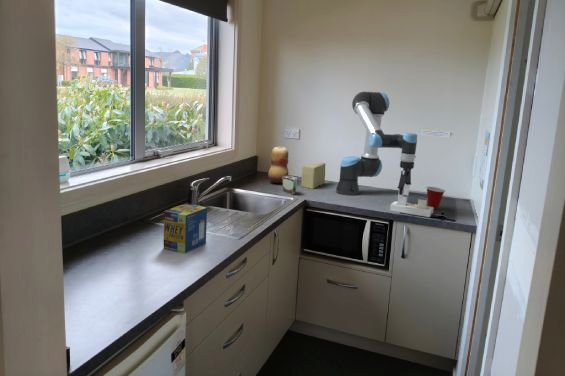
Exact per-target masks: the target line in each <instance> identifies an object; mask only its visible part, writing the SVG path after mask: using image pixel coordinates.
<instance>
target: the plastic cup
mask: <svg viewBox="0 0 565 376" xmlns="http://www.w3.org/2000/svg"><path fill="white" fill-rule="evenodd" d="M425 188H426V193H427V194H426V196H427V197H426V198H428V201H427V206H428V207H434V209H433V210H438V209H439V206H440V204H441V201H442V199H443V195H444V193H445V192H446V190H445V189H443V188H440V187H435V186H426V187H425Z"/></svg>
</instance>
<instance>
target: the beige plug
mask: <svg viewBox="0 0 565 376" xmlns="http://www.w3.org/2000/svg"><path fill="white" fill-rule="evenodd" d="M427 201H428V198H427V197H424V196H423V197H422V196H419V197H418V198H417V205H418V206H417V208H421V209H426V208H427V206H428V202H427Z"/></svg>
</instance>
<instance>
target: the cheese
mask: <svg viewBox="0 0 565 376" xmlns="http://www.w3.org/2000/svg"><path fill="white" fill-rule="evenodd" d="M325 180H326V162H319V163H315V164H306V165H302V168H301V185H300V186H301V188H305V187H306V188H305V189H309V188H310V189H311V190H313V189H316V188H317V187H319V185H320V186H322V184H323V185H324V184H325Z"/></svg>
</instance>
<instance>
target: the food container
mask: <svg viewBox="0 0 565 376" xmlns="http://www.w3.org/2000/svg"><path fill="white" fill-rule="evenodd" d="M282 179H283V183H282V192H283V191H284V192H283V193H285V192H286V193H285V194H288V193H289V194H288V195H290V194H291V196H294V195H296V190H297V183H298V182H299V180H298V177H296V176H291V175H288V176H283V177H282Z"/></svg>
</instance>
